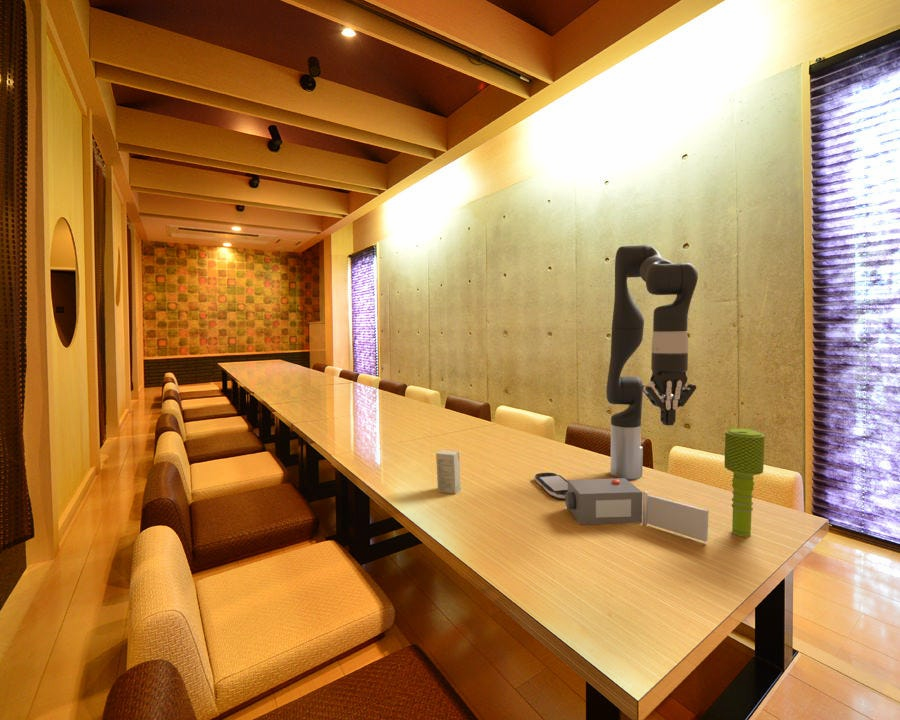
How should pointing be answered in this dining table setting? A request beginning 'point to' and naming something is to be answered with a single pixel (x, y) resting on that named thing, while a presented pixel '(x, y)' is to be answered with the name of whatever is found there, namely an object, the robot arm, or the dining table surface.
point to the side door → (675, 516)
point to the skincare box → (448, 471)
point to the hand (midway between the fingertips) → (667, 424)
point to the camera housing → (604, 501)
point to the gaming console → (553, 484)
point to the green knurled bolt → (743, 473)
